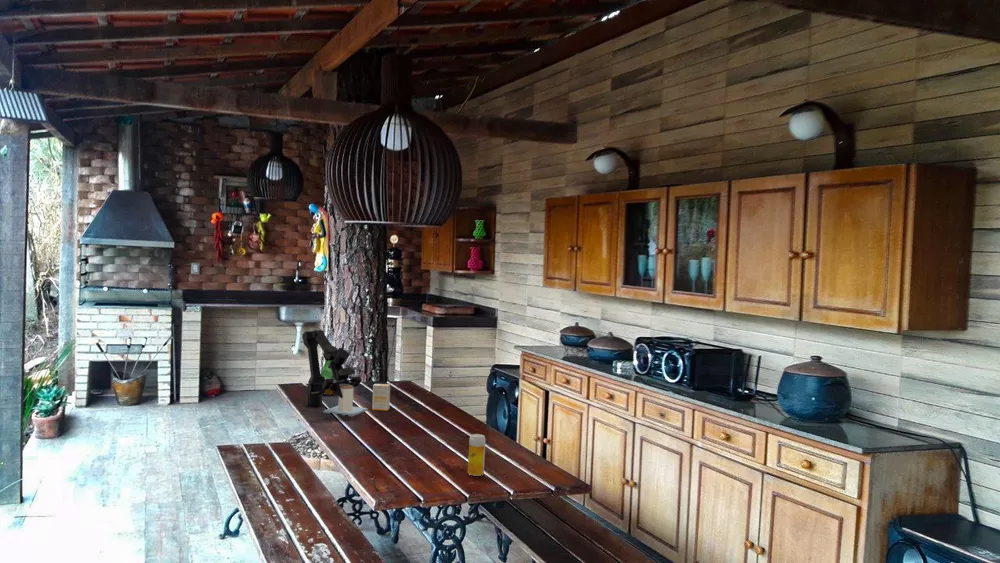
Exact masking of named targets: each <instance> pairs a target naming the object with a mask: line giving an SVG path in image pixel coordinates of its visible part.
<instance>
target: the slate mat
mask: <svg viewBox="0 0 1000 563" xmlns="http://www.w3.org/2000/svg"><path fill="white" fill-rule="evenodd" d="M368 409H369V408H367V407H358V406H353V408H352V411H347V412H342V411H340V410H338V405H336V406H332V407H331V408H328V409H325V410H323V413H324V414H330V413H334V414H333V415H337V414H342V415H341V416H345V415H348V416H347V417H355V416H356V415H360V414H362V413H364V412H367V411H368ZM366 410H367V411H366Z"/></svg>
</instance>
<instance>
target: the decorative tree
mask: <svg viewBox="0 0 1000 563" xmlns="http://www.w3.org/2000/svg"><path fill="white" fill-rule="evenodd" d="M330 343H331V345H332V346H333V344H332V342H330ZM324 362H325V363H324V365H323V367H322V370H321V371H320V374H321V375H322V377H323V376H324V377H325V379H329V378H332V375H333V374H332V371H331V368H330V369H329V368H328V366H329V364H330V362H331V361H326V360H325V361H324ZM333 379H334V378H333ZM330 388H331V387H330ZM330 388H329V389H326V390H325V394H329V395H328V396H332V395H331V394H333V395H334V392H333V391H332V390H330Z"/></svg>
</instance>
